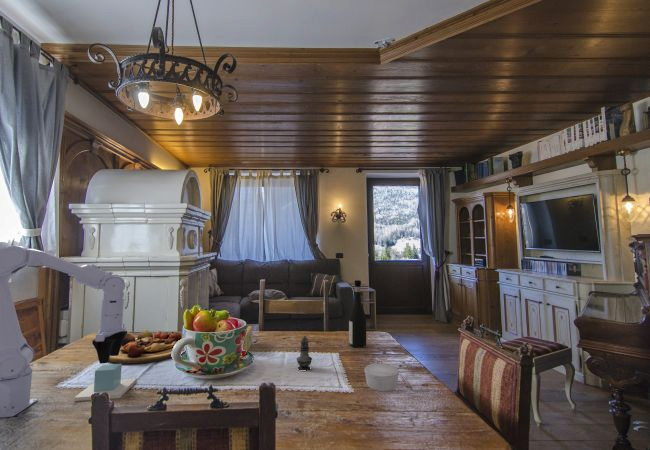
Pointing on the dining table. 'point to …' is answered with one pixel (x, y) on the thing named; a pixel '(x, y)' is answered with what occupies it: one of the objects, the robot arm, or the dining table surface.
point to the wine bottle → (357, 320)
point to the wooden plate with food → (146, 347)
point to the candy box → (248, 339)
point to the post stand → (115, 393)
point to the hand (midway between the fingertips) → (109, 359)
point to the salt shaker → (304, 355)
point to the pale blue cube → (107, 377)
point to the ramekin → (381, 377)
